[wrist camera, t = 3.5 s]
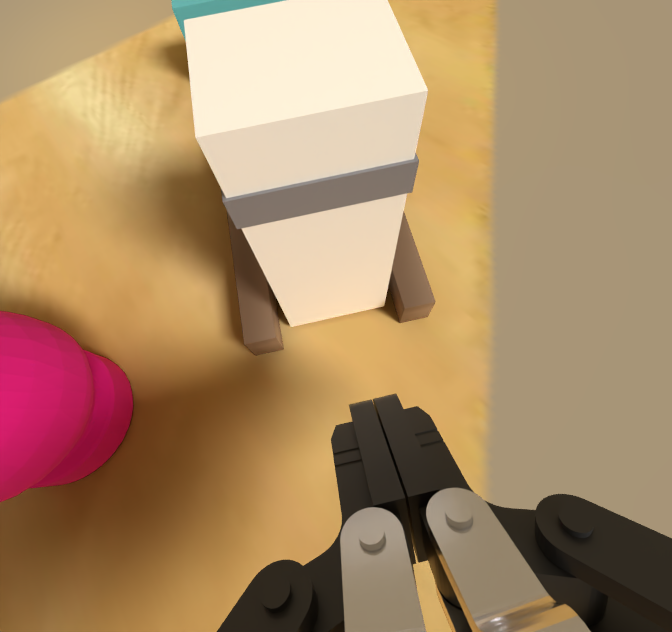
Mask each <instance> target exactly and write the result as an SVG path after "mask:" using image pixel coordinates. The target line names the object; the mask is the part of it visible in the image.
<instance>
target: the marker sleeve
mask: <svg viewBox="0 0 672 632" xmlns="http://www.w3.org/2000/svg"><path fill="white" fill-rule="evenodd" d="M184 27H185V37H186V47H187V57H188V67H189V77H190V87H191V96H192V106H193V116H194V126H195V136H196V139H197V141H198V143H199V145H200V147H201V149H202V151H203V153H204V155H205V157H206V159H207V161H208V163H209V165H210V167H211V169H212V171H213V173H214V175H215V177H216V179H217V181H218V183H219V185H220V187H221V192H222V200H223V204H224V205H225V207H226V209H227V211H228V213H229V215H230V217H231V219H232V221H233V223H234V225H235V226H236V228H237V229H242V231H243V233H244V235H245V237H246V239H247V241H248V243H249V245H250V247H251V249H252V251H253V253H254V255H255V257H256V258H257V260H258V262H259V264H260V266H261V268H262V270H263V272H264V274H265V276H266V278H267V280H268V282H269V284H270V286H271V288H272V290H273V292H274V294H275V296H276V298H277V300H278V302H279V304H280V306H281V308H282V310H283V312H284V314H285V316H286V318H287V320H288V322H289V324H290V326H291V327H293V326H298V325H302V324H306V323H311V322H315V321H320V320H324V319H329V318H333V317H338V316H342V315H347V314H351V313H356V312H360V311H365V310H369V309H374V308H378V307H383V306H384V304H385V299H386V295H387V290H388V285H389V280H390V275H391V270H392V265H393V260H394V255H395V250H396V245H397V241H398V236H399V231H400V226H401V221H402V216H403V211H404V206H405V201H406V196H407V193H411V192H412V190H413V186H414V181H415V177H416V172H417V168H418V163H419V160H418V157H417V155H416V147H417V142H418V137H419V133H420V128H421V123H422V118H423V113H424V108H425V103H426V98H427V93H428V89H427V87H426V85H425V83H424V80H423V78H422V76H421V74H420V71H419V69H418V67H417V65H416V63H415V60H414V58H413V56H412V54H411V51H410V49H409V47H408V45H407V42H406V40H405V38H404V36H403V34H402V31H401V29H400V27H399V25H398V22H397V20H396V18H395V16H394V14H393V11H392V9H391V7H390V5H389V2H388V0H286V1H280V2H275V3H270V4H265V5H260V6H254V7H249V8H244V9H239V10H233V11H228V12H223V13H218V14H213V15H207V16H202V17H197V18H192V19H187V20H184Z"/></svg>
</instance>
